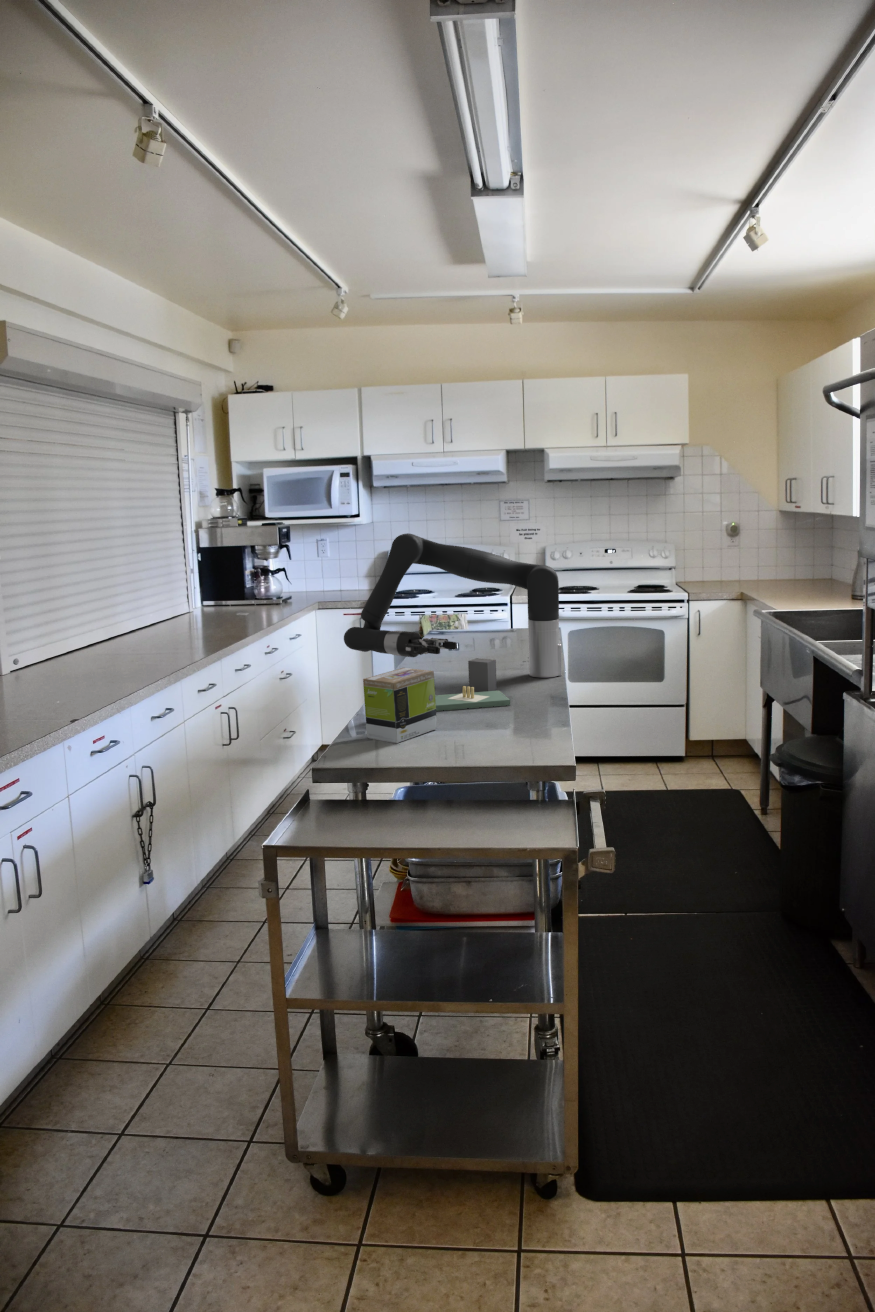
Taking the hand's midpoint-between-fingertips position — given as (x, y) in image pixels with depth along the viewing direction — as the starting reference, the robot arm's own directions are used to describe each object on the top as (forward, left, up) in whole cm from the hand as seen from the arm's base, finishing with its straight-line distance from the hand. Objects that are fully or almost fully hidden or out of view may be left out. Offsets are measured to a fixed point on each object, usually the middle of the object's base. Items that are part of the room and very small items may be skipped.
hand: (447, 648), depth 272 cm
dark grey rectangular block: (-8, +8, -12) cm, 16 cm away
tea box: (+21, +47, -12) cm, 53 cm away
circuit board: (-1, +21, -12) cm, 24 cm away
